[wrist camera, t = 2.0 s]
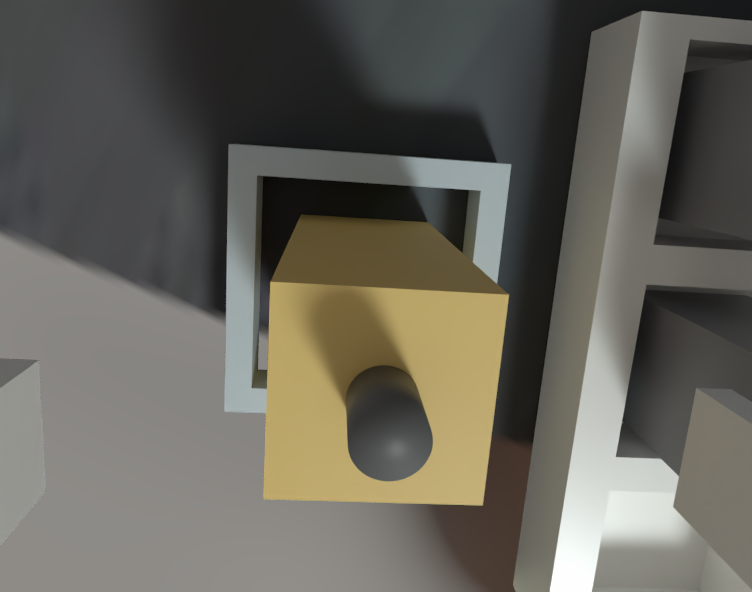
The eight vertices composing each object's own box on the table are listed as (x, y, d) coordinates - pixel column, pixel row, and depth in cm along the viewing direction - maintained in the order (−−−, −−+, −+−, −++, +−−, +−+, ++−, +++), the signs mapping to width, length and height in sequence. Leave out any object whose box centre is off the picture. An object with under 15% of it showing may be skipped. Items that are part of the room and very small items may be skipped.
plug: (301, 214, 25) (258, 306, 11) (428, 222, 25) (538, 321, 11) (296, 336, 26) (251, 556, 12) (416, 342, 26) (505, 561, 13)
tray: (237, 143, 24) (228, 144, 22) (497, 162, 24) (511, 164, 23) (232, 391, 26) (224, 411, 24) (469, 401, 27) (480, 421, 25)
